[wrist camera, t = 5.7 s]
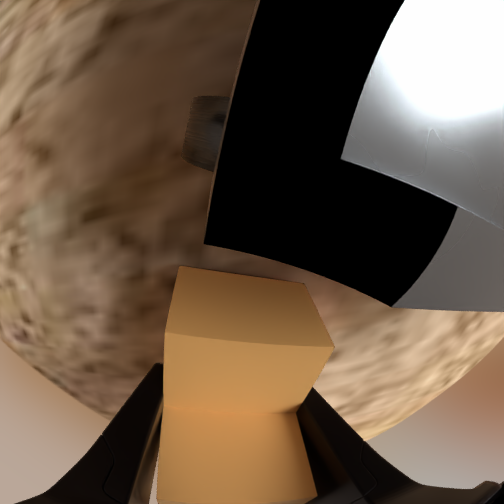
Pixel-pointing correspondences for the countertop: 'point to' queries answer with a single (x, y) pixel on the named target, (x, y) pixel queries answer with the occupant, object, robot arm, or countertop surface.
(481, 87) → the tray
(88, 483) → the robot arm
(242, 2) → the countertop surface
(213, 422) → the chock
